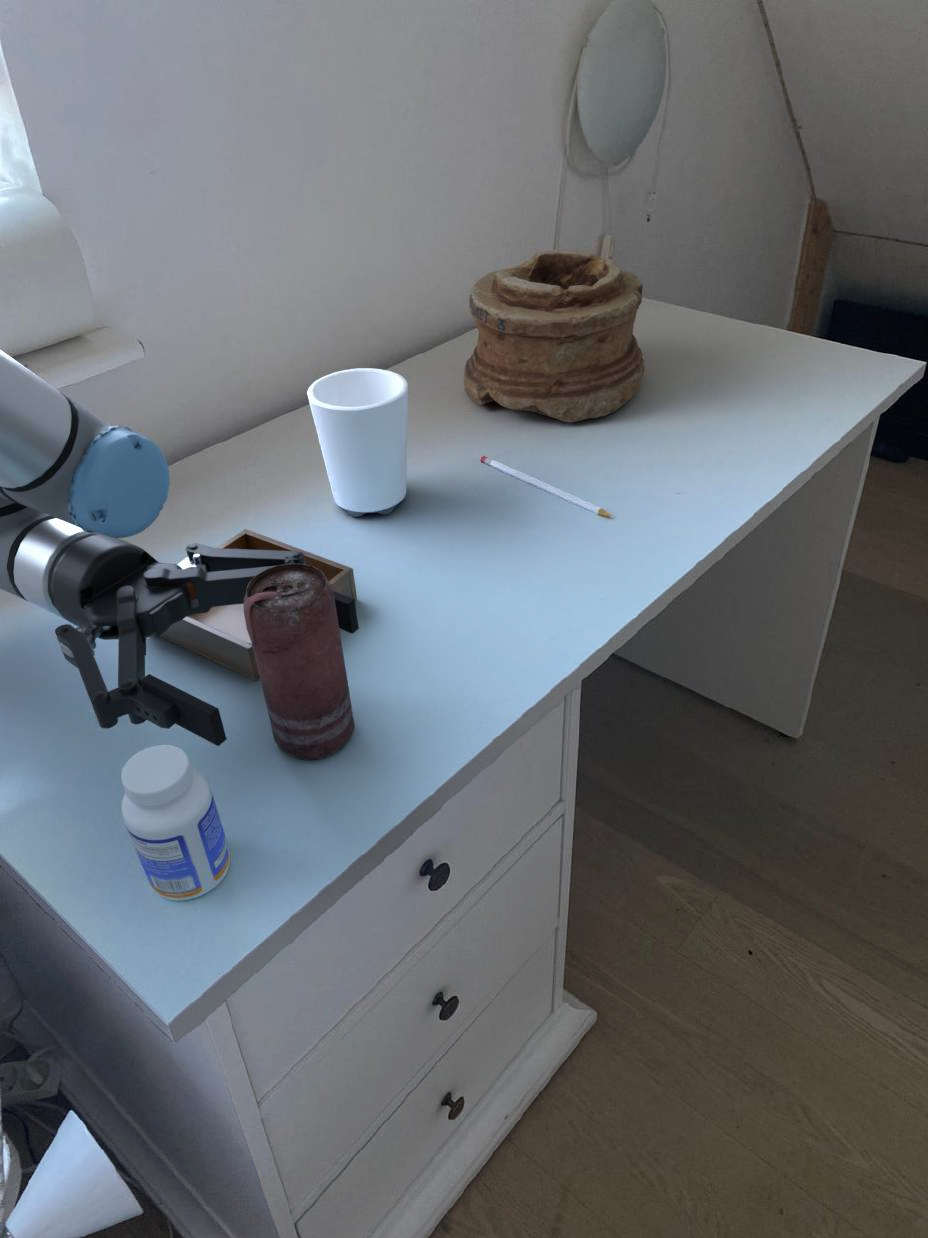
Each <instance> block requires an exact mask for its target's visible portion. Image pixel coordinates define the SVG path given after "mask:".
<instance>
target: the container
mask: <svg viewBox="0 0 928 1238" xmlns="http://www.w3.org/2000/svg"><path fill="white" fill-rule="evenodd" d="M643 287H644V284H643V281H642V280H641V278H638V277H637V275H636V274H635V273H632V272H631V271H629V270H626V269H622V268H621V267H620V265H619V264H618V263H617V262H615V260H613V259H611V258H609V257H606V258H604V259H602V258H601V257H600V256H599V255H598V254H596V253H593V252H590V251H587V250H586V251H584V250H578V249H548V250H542V251H536V252H535V253H534V254H533V256H532V257H531V259H530V260H527V261H526V260H525V261H524V262H522V263H520V264H518V265H517V266H514V267H508V268H503V269H499V270H496V271H495V270H493V271H491V272H489V273H487V274H485V275H482V276H481V277H480V278H479V279H477V281H476V282H475V283H474V285H472V287H471V290H470V293H469V301H468V306H469V313H470V315H471V317H472V319H474V321H475V325H476V328H477V330H478V335H477V342H476V343H477V344H476V346H474V350H473V351H472V354H471V355H470V357H469V358H468V359H467V360H466V361H465V365H464V369H463V370H464V371H463V386H464V387H463V388H464V391H465V393H466V394H467V396H468V397H469V398H470V399H471V400H472V401H473V402H474V403H475V404H477V405H479V406H482V405H485V404H487V403H491V402H496V403H497V404H499V405H500V406H501V407H503V408H505V409H508V410H511V411H512V410H513V411H526V412H527V411H528V412H532V413H537V414H540V415H542V416H546V417H549V418H551V419H552V418H553V419H556V420H559V421H562V422H565V423H576V422H580V421H585V420H589V419H597V418H599V417H605V416H607V415H609V414H612V413H615V412H616V411H617V410H618V409H621V407H622V406H623V405H625V404H626V403H628V401H630V399H632V398H633V397H634V396H635V394H636V392H637V391H638V389H639V387H640V385H641V381H642V379H643V377H644V374H645V369H646V367H645V360H644V358H643V351H642V348H640V347H639V344H638V341H637V338H636V337H635V335H634V334H633V332H634V326H635V322H636V318H637V312H638V310H639V309H640V305H641V304H642V303H643V302H642V301H643Z"/></svg>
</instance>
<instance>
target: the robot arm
mask: <svg viewBox="0 0 928 1238" xmlns="http://www.w3.org/2000/svg"><path fill="white" fill-rule="evenodd" d="M170 475H171V474H170V467H169V464H168V461H167V458H166V456H165V454H164V452H163V451H162V450H161V448H160V447H159V446H158V445H157V444H156V443H155V442H154V441H152V440H151V439H150V438H148V437H146V436H145V435H141V434H139V433H136V432H135V431H133V430H132V429H131V428H129V427H127V426H123V425H112V424H110V423H108V422H105V421H104V420H102V419H100V418H99V417H97V416H95V415H94V414H93V413H92V412H90V411H89V410H87V409H86V408H84V407H83V406H82V405H80V404H79V403H77V402H76V401H75V400H74V399H73V400H72V399H71V398H69V396H67V395H65V394H63V393H62V392H60V391H59V390H58V389H57V388H55V387H54V386H53V385H51V384H50V383H49V382H47V381H46V380H44V379H42V378H41V377H40V376H39V375H37V374H36V373H34V372H33V371H31V370H30V369H29V368H27V367H26V366H24V365H23V364H21V363H20V362H19V361H17V360H16V359H14V358H13V357H12V356H10V355H9V354H7V353H6V352H5V351H3V350H1V349H0V589H1V590H3V591H5V592H6V593H9V594H11V595H13V596H16V597H18V598H20V599H22V600H24V601H26V602H28V603H31V604H33V605H35V606H36V607H39V608H41V609H43V610H45V611H47V612H49V613H50V614H53V615H55V616H57V617H59V618H61V619H64V620H65V621H67V622H69V623H71V624H72V625H71V624H68V623H67V624H66V623H65V624H61V625H59V626H57V627H56V628H55V629H54V634H55V637H56V639H57V641H58V645H59V647H60V649H61V652H62V655H63V657H64V659H65V660H66V661H67V662H68V663H70V664H71V665H72V666H74V667H75V668H76V669H77V670H78V672H79V675H80V677H81V680H82V683H83V685H84V688H85V691H86V694H87V696H88V699H89V701H90V704H91V706H92V709H93V712H94V714H95V717H96V720H97V722H98V725H99V727H100V728H101V729H110V728H113V727H115V726H116V725H117V724H118V722H119V718H121V717H124V716H126V715H128V718H129V721H130V723H131V724H132V725H141V724H144V723H145V722H146V721H148V722H149V723H152V724H154V725H155V726H157V727H159V728H161V729H168V730H169V729H170V728H172V727H173V726H174V725H176V726H179V727H180V728H182V729H184V730H186V731H188V732H190V733H192V734H194V735H196V736H198V737H199V738H201V739H204V740H205V741H206V742H209V743H211V744H213V745H215V746H216V747H220V746H221V745H222V744H223V743H225V742H226V741H227V735H226V731H225V728H224V727H225V726H224V723H223V720H222V717H221V713H220V709H219V708H218V707H216V706H214V705H212V704H210V703H208V702H206V701H204V700H203V699H200V698H199V697H196V696H194V695H192V694H190V693H188V692H186V691H184V690H182V689H180V688H178V687H176V686H175V685H172V684H170V683H168V682H166V681H165V680H162V679H160V678H158V677H156V676H155V675H152V674H150V673H148V674H147V675H146V656H147V638H151V637H154V636H157V637H160V636H159V635H161V634H162V633H164V632H165V631H166V630H167V629H168V628H169V627H170V626H171V625H172V624H174V623H176V622H178V621H180V620H182V619H184V618H185V617H187V616H188V615H189V614H197V613H206V612H208V611H209V610H210V608H211V607H214V606H224V605H234V604H244V602H243V599H244V597H245V594H246V588H247V586H248V584H249V582H250V581H251V580H252V579H253V578H254V577H255V576H256V575H257V574H259V573H261V572H263V571H264V570H266V569H269V568H272V567H275V566H278V565H284V564H305V565H306V563H305V557H304V553H303V552H300V551H277V550H249V549H222V548H217V547H212V546H209V545H205V544H201V543H197V542H195V543H189V544H188V545H187V546H185V552H186V555H187V556H186V557H185V558H184V559H182V560H181V561H180V562H179V563H177V564H176V563H165V562H160V561H158V560H157V559H155V558H154V557H153V555H151V554H150V553H149V552H148V551H146V550H145V549H144V548H142V547H140V546H138V545H136V544H133V543H131V542H129V541H126V540H123V539H125V538H129V537H133V536H136V535H138V534H140V533H142V532H144V531H145V530H146V529H148V528H149V527H150V526H151V525H153V524H154V522H155V521H156V520H157V518H158V517H159V516H160V513H161V511H162V510H163V508H164V504H165V503H166V502H167V500H168V497H169V493H170V485H171V484H170V483H171V482H170V481H171V477H170ZM187 583H192V584H193V585H194V587H195V591H196V594H197V598H198V599H195V600H191V598H190V593H189V589H188V585H187ZM333 592H334V598H335V605H336V611H337V617H338V624H339V630H341V631H344V632H347V633H349V634H352V635H353V634H354V633H356V632H357V631H358V630H359V629H360V627H359V620H358V619H359V618H358V612H357V605H356V601H355V599H353V598H351V597H348V596H345V595H343V594H340V593H338V592H335V591H333ZM73 625H74V626H76V627H74V626H73ZM97 639H100V640H104V641H108V640H109V641H111V640H118V653H117V659H118V660H117V661H118V662H117V687H116V688H114V689H111V690H109V691H108V688H107V685H106V683H105V681H104V678H103V675H102V673H101V671H100V668H99V666H98V663H97V661H96V660H97V659H96V658H95V655H96V653H95V651H94V650H95V649H96V648H97V642H96V640H97Z"/></svg>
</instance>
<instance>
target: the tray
mask: <svg viewBox="0 0 928 1238" xmlns="http://www.w3.org/2000/svg"><path fill="white" fill-rule="evenodd" d="M216 548H222V549H249V550H277V551H300V552H303V553H304V557H305V563H306V565H310V566H313V567H315V568H317V569H319V570H321V571H322V572H323V574H324V575H325V576H326V579H327V580H328V581H329V582H330V583H331V585H332V586H333V591H335V592H338V593H340V594H343V595H345V596H348V597H351V598H353V599H355V602H356V601H357V600H358V596H357V588H356V587H357V586H356V581H355V574H354V573H355V572H354V568H353V567H350V566H348V565H344V564H342V563H340V562H336V561H334V560H331V559H329V558H325V557H323V556H321V555H318V554H315V553H312V552H310V551H307V550H304V549H301V548H298V547H296V546H293V545H290V544H288V543H285V542H283V541H279V540H277V539H275V538H271V537H270V536H269V537H268V536H266V535H263V534H260V533H258V532H255V531H252V530H249V529H247V528H245V529H243V530H241V531H240V532H239V533H237V534H236V535H234V536H233V537H231V538H230V539H228V540H227V541H225V542H223V543H222V544H220V545H219V546H217V547H216ZM187 585H188V589H189V593H190V598H191V600H195V599H198V598H197V594H196V591H195V587H194V585H193V584H192V583H187ZM158 637H160V638H162V639H164V640H165V641H166V640H167V641H169V642H171V643H173V644H175V645H176V646H179V647H182V648H184V649H186V650H188V651H190V652H192V653H194V654H196V655H198V656H200V657H202V658H204V659H207V660H209V661H211V662H213V663H216V664H218V665H220V666H222V667H224V668H226V669H228V670H230V671H233V672H234V673H237V674H239V675H241V676H243V677H246V678H248V679H249V680H252V681H254V682H257V681H258V680H260V676H259V672H258V667H257V663H256V659H255V654H254V650H253V646H252V642H251V639H250V637H249V634H248V631H247V627H246V622H245V616H244V604H234V605H224V606H214V607H211V608H210V610H209V611H208V612H206V613H197V614H189V615H188V616H187V617H185V618H184V619H182V620H180V621H178V622H176V623H174V624H172V625H171V626H170V627H169V628H168V629H167V630H166V631H165V632H164V633H162V634H161V635H159V636H158Z"/></svg>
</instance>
